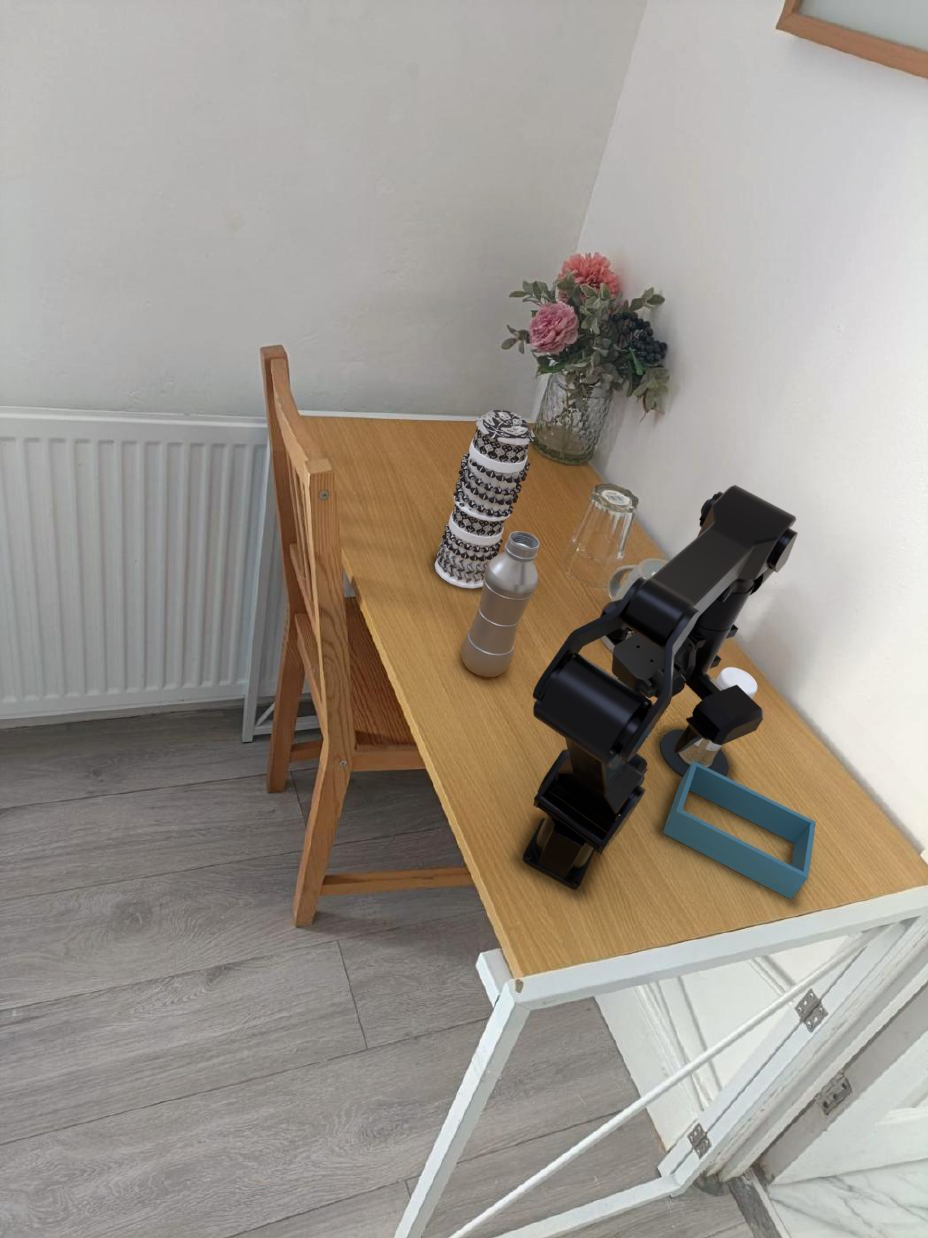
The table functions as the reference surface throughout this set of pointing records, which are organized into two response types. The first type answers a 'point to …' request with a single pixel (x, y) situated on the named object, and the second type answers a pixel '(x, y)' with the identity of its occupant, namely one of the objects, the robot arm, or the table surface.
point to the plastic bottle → (502, 606)
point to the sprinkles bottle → (706, 749)
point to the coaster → (677, 762)
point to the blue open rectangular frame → (734, 849)
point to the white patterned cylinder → (484, 497)
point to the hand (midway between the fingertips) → (648, 720)
